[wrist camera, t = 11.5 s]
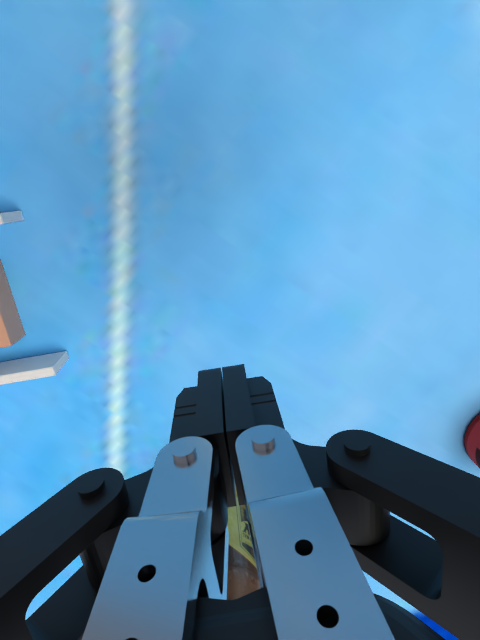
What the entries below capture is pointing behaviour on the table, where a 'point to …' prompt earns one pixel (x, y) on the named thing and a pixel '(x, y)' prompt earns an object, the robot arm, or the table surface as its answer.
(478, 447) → the canned food
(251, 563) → the sauce bottle
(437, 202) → the table surface
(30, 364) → the box
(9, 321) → the terracotta tile
